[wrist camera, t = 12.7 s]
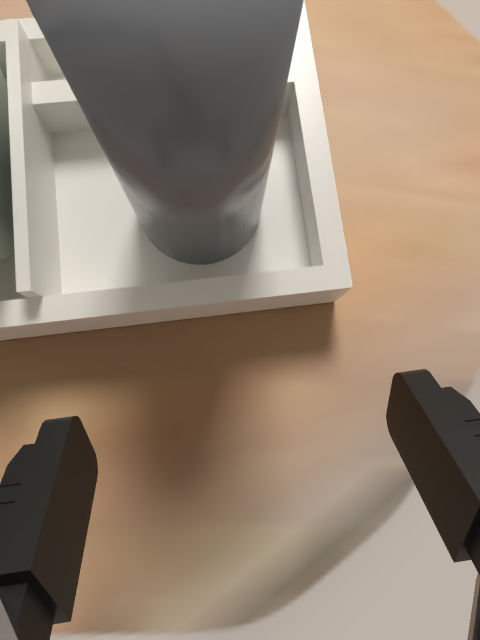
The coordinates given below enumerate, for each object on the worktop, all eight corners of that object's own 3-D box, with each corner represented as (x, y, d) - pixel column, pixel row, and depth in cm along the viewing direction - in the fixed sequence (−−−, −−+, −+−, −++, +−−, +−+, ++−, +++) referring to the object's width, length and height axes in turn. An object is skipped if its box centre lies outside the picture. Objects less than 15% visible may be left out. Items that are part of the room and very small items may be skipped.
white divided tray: (-5, 341, 18) (-261, 288, 9) (-15, 73, 20) (-231, -211, 11) (334, 301, 19) (445, 213, 10) (293, 48, 21) (351, -238, 12)
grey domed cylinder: (144, 271, 18) (26, 99, 7) (133, 155, 19) (13, -151, 8) (268, 257, 19) (329, 73, 8) (252, 144, 19) (287, -165, 9)
